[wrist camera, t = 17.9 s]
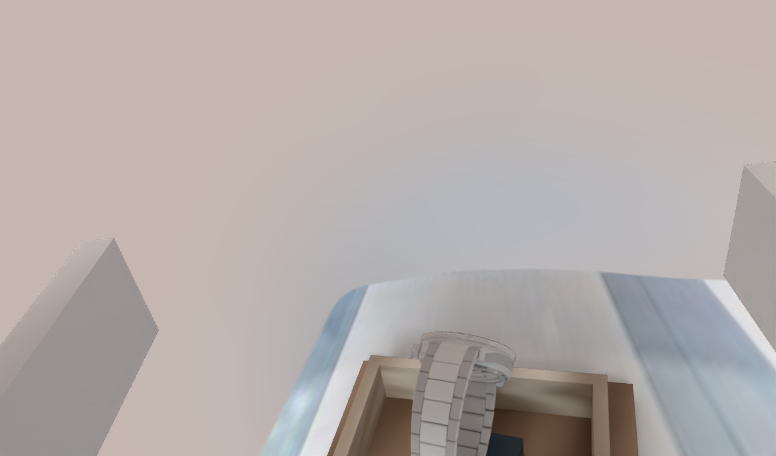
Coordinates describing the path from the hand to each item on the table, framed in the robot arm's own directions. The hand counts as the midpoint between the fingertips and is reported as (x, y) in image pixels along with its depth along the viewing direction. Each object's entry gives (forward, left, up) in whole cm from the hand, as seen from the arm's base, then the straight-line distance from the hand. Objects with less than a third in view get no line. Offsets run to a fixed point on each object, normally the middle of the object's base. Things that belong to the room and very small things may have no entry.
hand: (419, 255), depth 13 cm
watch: (-5, -8, -24) cm, 26 cm away
